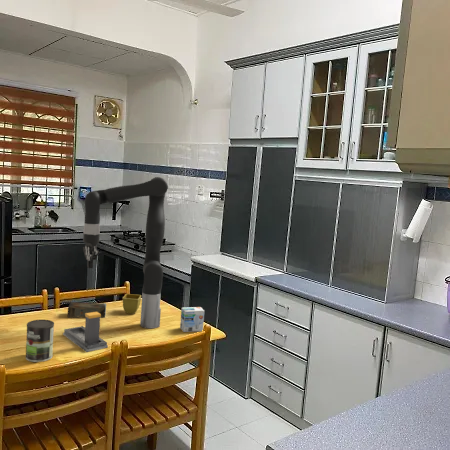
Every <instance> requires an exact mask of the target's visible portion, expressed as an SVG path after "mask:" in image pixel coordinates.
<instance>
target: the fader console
mask: <svg viewBox="0 0 450 450" xmlns="http://www.w3.org/2000/svg"><path fill="white" fill-rule="evenodd" d="M62 335H63V336H64V337H65V338H67V339H68V340H70V341H71V343H73V344H75V345H76V346H77V347H79V348H80V349H81V350H82V351H84V352H85V353H88V352H93V351H98V350H103V349H107V348H109V345H108V342H107V341H106V340H104V339H102V338H101V337H100V336H99V343H94V344H88V343H87V342H85V326H83V325H80V326H77V327H76V326H75V327H71V328H69V327H68V328H64V332H62Z"/></svg>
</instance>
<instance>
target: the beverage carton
mask: <svg viewBox="0 0 450 450" xmlns="http://www.w3.org/2000/svg"><path fill="white" fill-rule="evenodd" d="M91 312H98V313H100V314H101V317H100V319H103V318H106V312H107V303H105V302H100V303H99V302H77V301H76V302H73V301H72V302H69V304H68V307H67V318H71V319H72V318H74V319H75V318H76V319H77V318H81V319H83V318H85V319H86V316H85V313H91Z"/></svg>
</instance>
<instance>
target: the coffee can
mask: <svg viewBox="0 0 450 450" xmlns="http://www.w3.org/2000/svg"><path fill="white" fill-rule="evenodd" d="M54 327H55V322H54V321H53V320H49V319H34V320H30V321H28V322H27V323H26V344H25V360H26V361H27V362H31V363H41V362H47V361H49V360H51V359H52V358H53V356H54V355H53V351H54V350H53V347H54Z"/></svg>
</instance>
